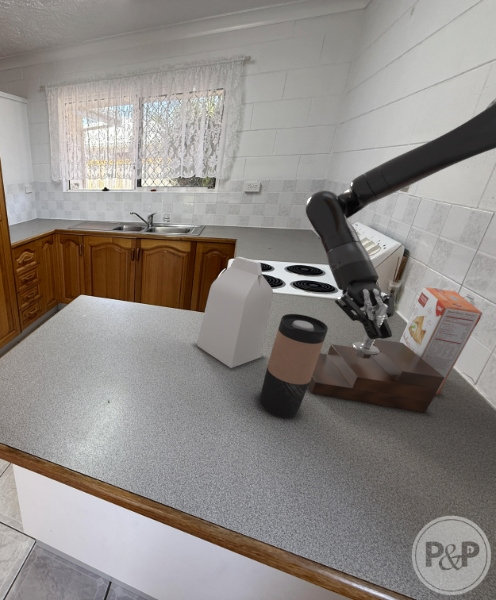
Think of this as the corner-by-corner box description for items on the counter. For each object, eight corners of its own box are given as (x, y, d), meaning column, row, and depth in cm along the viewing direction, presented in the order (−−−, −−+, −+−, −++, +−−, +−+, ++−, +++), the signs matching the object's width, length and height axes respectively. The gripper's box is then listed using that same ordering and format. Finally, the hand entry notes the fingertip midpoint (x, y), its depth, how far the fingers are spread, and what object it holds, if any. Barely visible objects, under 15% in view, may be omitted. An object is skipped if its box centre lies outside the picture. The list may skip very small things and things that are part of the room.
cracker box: (389, 358, 84) (422, 285, 76) (419, 365, 81) (457, 290, 73) (403, 386, 73) (444, 305, 65) (439, 396, 70) (486, 312, 62)
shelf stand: (311, 393, 70) (324, 359, 67) (293, 359, 83) (303, 329, 79) (425, 412, 65) (445, 377, 61) (387, 373, 77) (402, 342, 74)
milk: (196, 345, 88) (211, 256, 78) (225, 336, 93) (243, 251, 83) (231, 368, 78) (253, 269, 68) (261, 357, 83) (286, 263, 73)
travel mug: (298, 402, 67) (327, 319, 59) (298, 424, 61) (330, 336, 53) (259, 389, 71) (281, 310, 63) (256, 410, 65) (280, 325, 57)
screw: (381, 362, 69) (357, 360, 69) (366, 350, 73) (344, 348, 73) (405, 309, 63) (379, 307, 64) (388, 300, 68) (364, 298, 68)
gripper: (338, 259, 69) (369, 335, 62) (391, 257, 70) (427, 331, 64) (312, 274, 75) (338, 344, 69) (361, 272, 77) (391, 340, 71)
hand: (381, 337), depth 67 cm, fingers closed on screw, 2 cm apart
